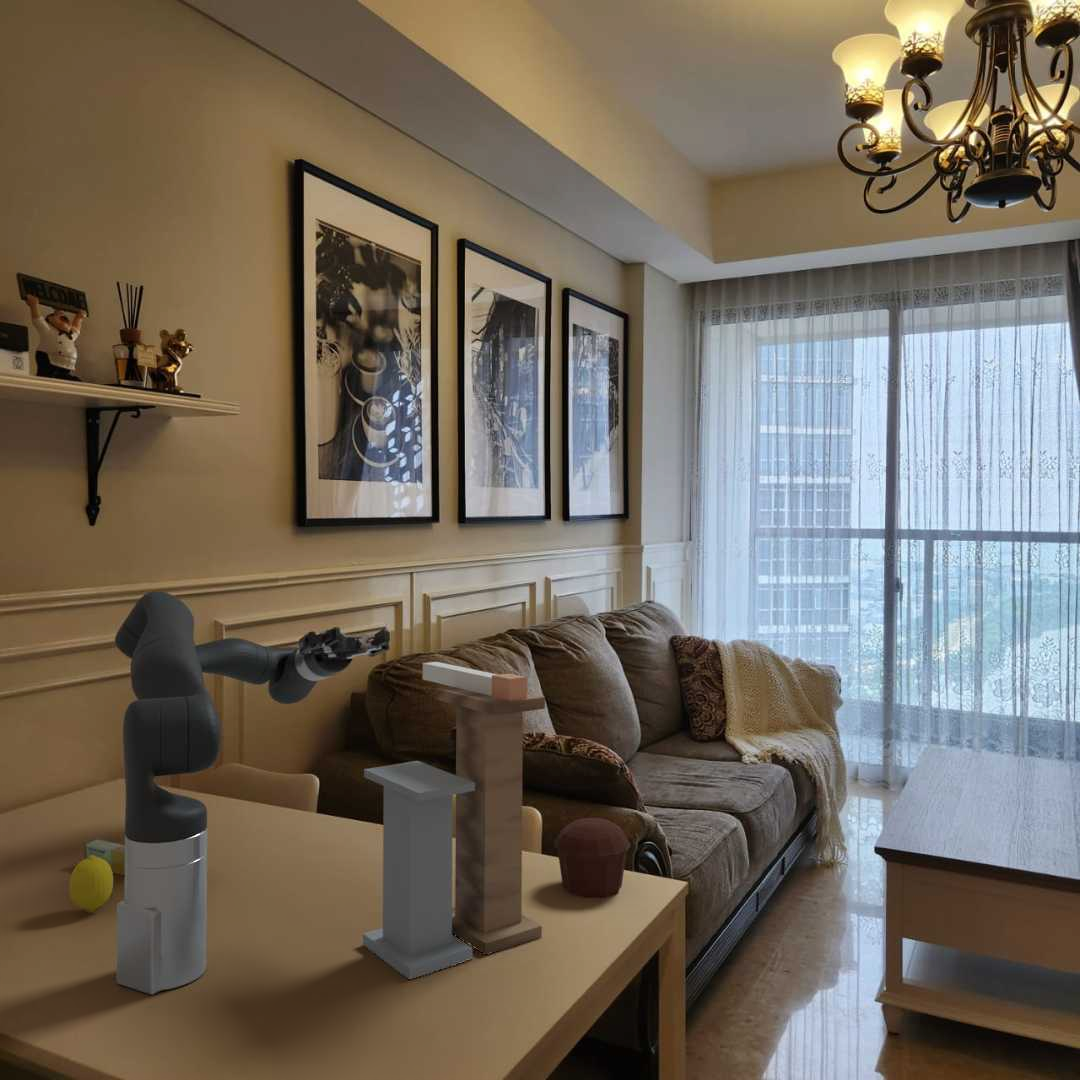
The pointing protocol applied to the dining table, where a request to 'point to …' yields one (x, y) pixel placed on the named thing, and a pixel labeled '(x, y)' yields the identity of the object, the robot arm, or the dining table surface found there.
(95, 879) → the lemon
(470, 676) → the white square bar
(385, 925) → the grey pedestal column
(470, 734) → the tall tower
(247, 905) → the dining table surface
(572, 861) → the muffin
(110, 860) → the medication box
